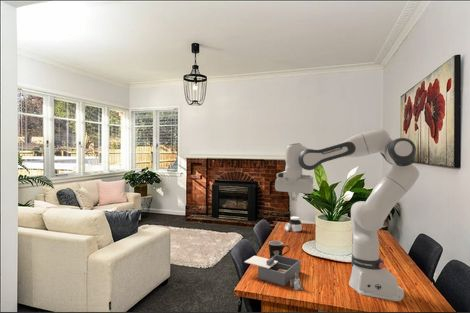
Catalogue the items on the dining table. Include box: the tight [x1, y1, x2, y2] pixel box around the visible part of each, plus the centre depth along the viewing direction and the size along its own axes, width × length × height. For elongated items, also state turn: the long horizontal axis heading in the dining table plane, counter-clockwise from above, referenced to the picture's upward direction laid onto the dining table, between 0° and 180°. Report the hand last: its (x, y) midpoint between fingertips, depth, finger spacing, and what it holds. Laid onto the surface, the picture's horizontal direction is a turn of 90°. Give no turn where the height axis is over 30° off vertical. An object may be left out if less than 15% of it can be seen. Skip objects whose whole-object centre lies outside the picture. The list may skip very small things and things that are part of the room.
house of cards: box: [289, 271, 303, 291], centre depth 129 cm, size 9×9×8 cm
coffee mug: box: [268, 240, 290, 259], centre depth 159 cm, size 12×9×10 cm
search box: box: [257, 255, 301, 287], centre depth 140 cm, size 14×20×6 cm
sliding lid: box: [243, 255, 278, 269], centre depth 141 cm, size 14×10×2 cm
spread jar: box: [283, 215, 303, 233], centre depth 219 cm, size 12×11×12 cm
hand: (293, 200), depth 144 cm, fingers closed
